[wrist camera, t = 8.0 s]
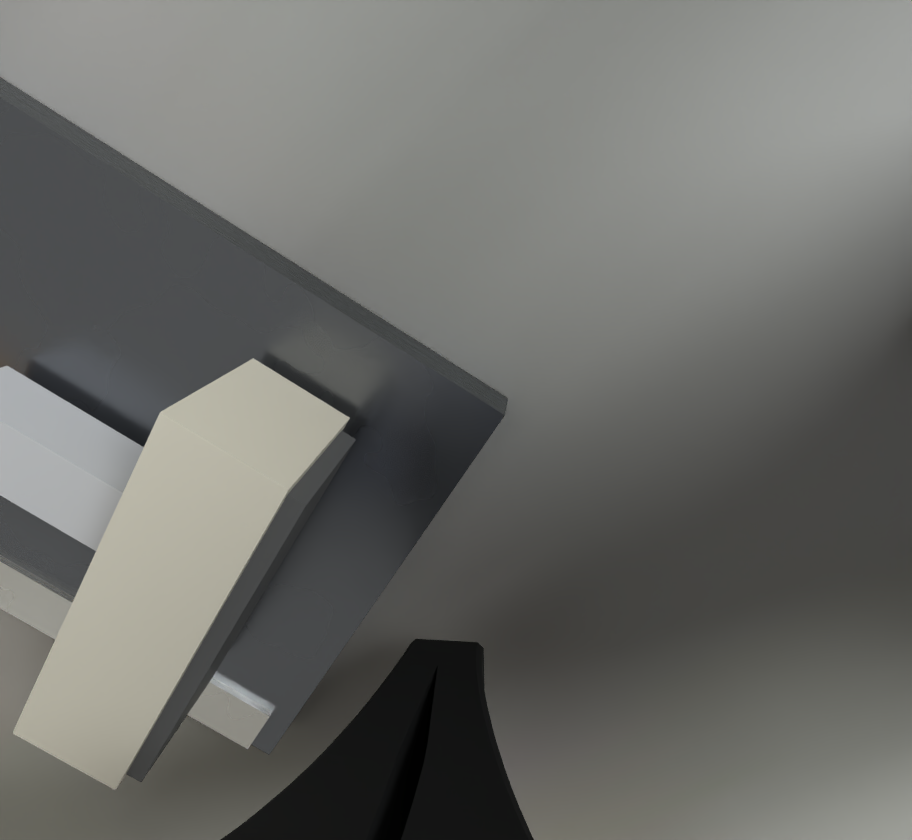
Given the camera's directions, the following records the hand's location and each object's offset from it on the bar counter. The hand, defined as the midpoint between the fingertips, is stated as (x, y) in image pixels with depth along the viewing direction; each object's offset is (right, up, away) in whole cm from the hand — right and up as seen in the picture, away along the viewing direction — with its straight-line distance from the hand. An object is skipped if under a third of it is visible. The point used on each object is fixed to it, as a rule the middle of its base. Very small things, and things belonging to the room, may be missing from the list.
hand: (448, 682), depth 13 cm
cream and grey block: (-6, +4, 0) cm, 7 cm away
